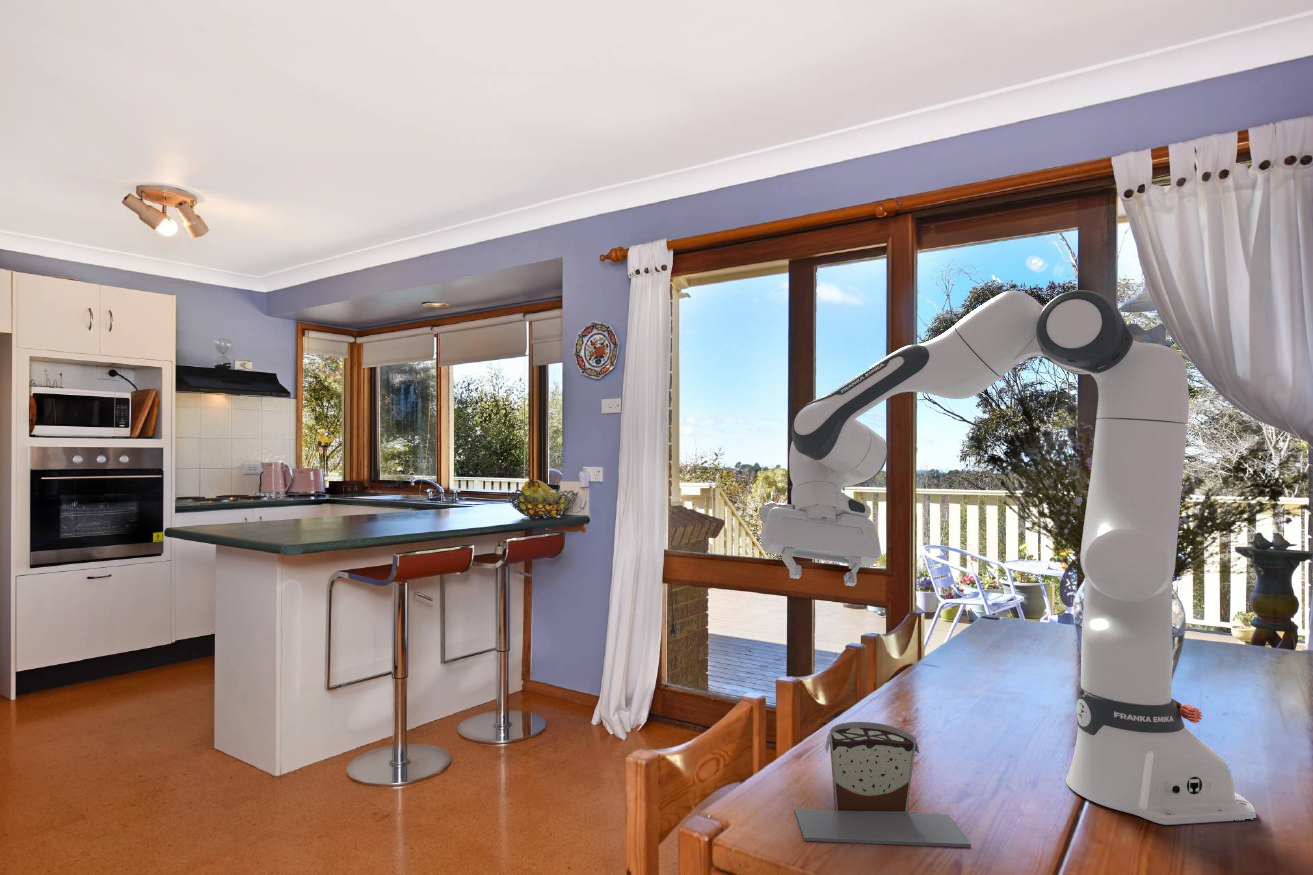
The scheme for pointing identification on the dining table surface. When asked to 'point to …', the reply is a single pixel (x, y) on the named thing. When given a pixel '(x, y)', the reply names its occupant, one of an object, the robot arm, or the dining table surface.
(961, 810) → the dining table surface
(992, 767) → the dining table surface
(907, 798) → the food container
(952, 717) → the dining table surface
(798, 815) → the charcoal rubber mat
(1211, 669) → the dining table surface
